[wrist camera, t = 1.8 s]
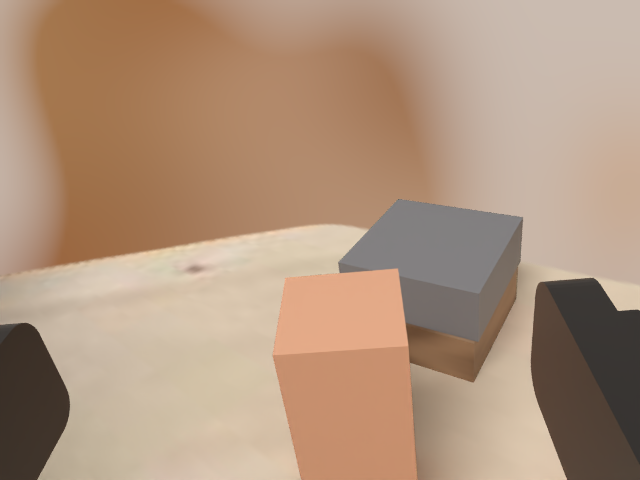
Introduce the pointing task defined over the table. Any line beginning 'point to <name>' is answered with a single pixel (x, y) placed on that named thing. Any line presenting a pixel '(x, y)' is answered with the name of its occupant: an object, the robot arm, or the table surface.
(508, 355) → the table surface
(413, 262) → the slab top
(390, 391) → the pillar
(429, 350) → the slab bottom
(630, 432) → the robot arm
